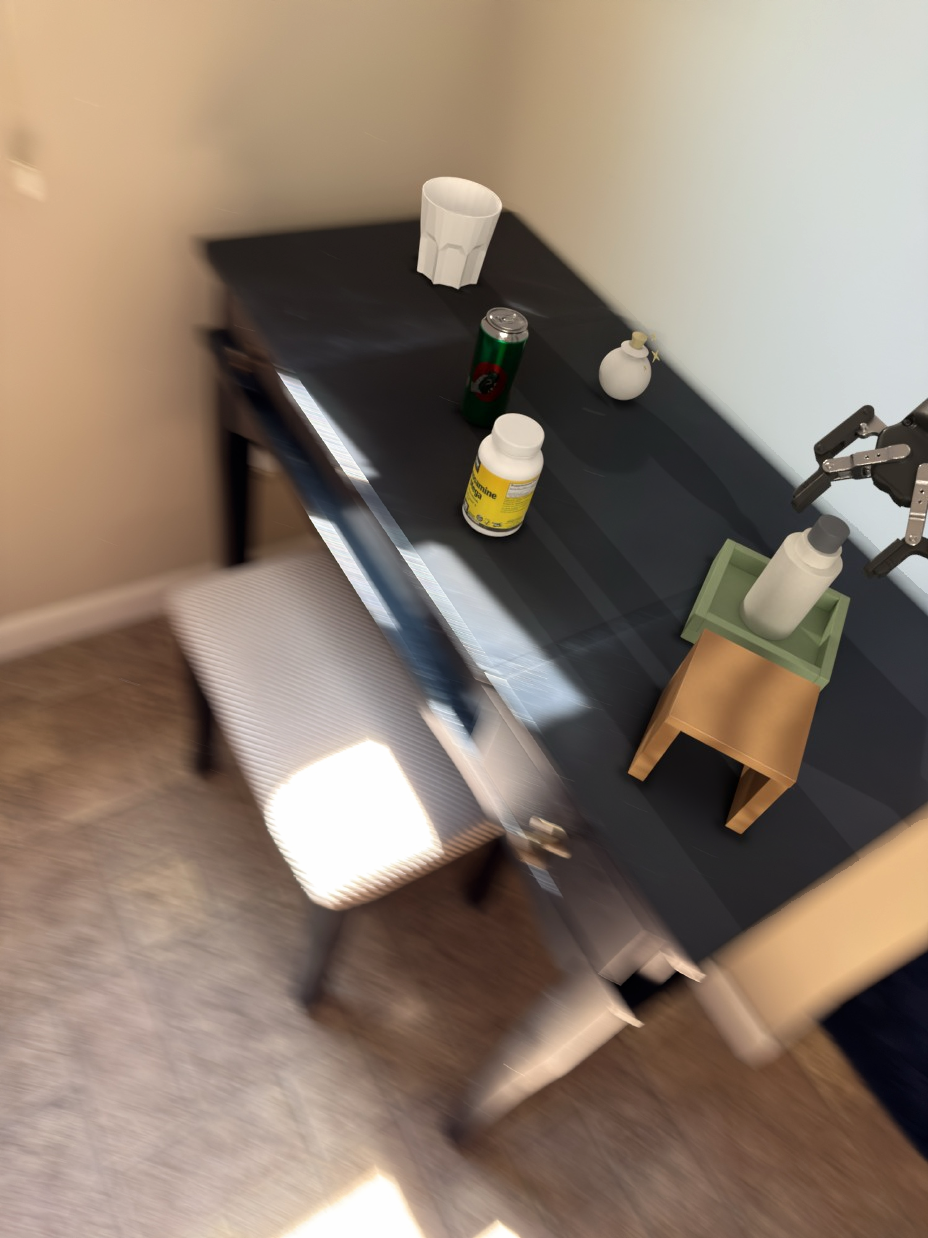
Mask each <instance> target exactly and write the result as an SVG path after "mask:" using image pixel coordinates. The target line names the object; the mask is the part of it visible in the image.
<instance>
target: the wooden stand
mask: <svg viewBox="0 0 928 1238" xmlns="http://www.w3.org/2000/svg"><path fill="white" fill-rule="evenodd" d="M820 688H821V687H820V686H818V685H816V684H814V683H812V682H810V681H808V680H806V679H804V678H802V677H800V676H798V675H797V674H795V673H793V672H791V671H789V670H787V669H785V668H783V667H781V666H779V665H777V664H775V663H773V662H771V661H769V660H767V659H765V658H763V657H761V656H759V655H757V654H755V653H753V652H751V651H749V650H747V649H745V648H743V647H741V646H739V645H737V644H735V643H733V642H731V641H729V640H727V639H725V638H724V637H722V636H720V635H718V634H716V633H714V632H712V631H710V630H708V629H706V628H705V629H704V630H703V632H702V633H701V635H700V637H699V638H698V640H697V641H696V643H695V644H693V646H692V647H691V649H690V650H689V651H688V653H687V654H686V656H685V658H684V659H683V660H682V662H681V663H680V665H679V666H678V668H677V669H676V671H675V673H674V674H673V675H672V677H671V679H670V680H669V681H668V683H667V685H665V687H664V689H663V690H662V692H661V695H660V696H659V699H658V701H657V704H656V706H655V708H654V711H653V713H652V714H651V715H652V716H651V717H650V720H649V722H648V725H647V727H646V729H645V731H644V734H643V736H642V738H641V741H640V743H639V745H638V748H637V750H636V752H635V755H634V757H633V760H632V762H631V764H630V766H629V769H628V770H627V774H628V775H630V776H632V777H634V778H636V779H638V780H640V781H641V782H644V781H645V780H646V778H647V777H648V776H649V774H650V773H651V771H652V770H653V769H654V767H655V766H656V765H657V763H658V762H659V761H660V760H661V758H662V757H663V755H664V754H665V753H666V751H667V750H668V748H670V746H671V745H672V744H673V742H674V741H675V740H676V738H677V736H678V735H679V734H680V733H681V732H682V733H684V734H686V735H688V736H690V737H692V738H694V739H695V740H697V741H700V742H701V743H703V744H705V745H707V746H709V747H711V748H713V749H715V750H717V751H719V752H720V753H722V754H724V755H726V756H728V757H730V758H731V759H734V760H735V761H737V762H739V763H741V764H743V768H742V770H741V775H740V778H739V781H738V783H737V787H736V790H735V793H734V797H733V800H732V803H731V806H730V809H729V812H728V816H727V818H726V822H725V824H724V825H725V827H726V828H727V829H728V828H729V829H730V830H732V831H734V832H735V833H737V834H740V835H743V833H744V832H745V831H746V830H747V829H748V828H749V827H750V826H752V825H753V824H754V822H755V821H756V820H758V818H759V817H760V816H762V814H764V812H765V811H766V810H768V809H769V807H771V806H772V805H773V804H774V802H776V801H777V800H778V799H779V798H780V797H781V796H782V795H783V794H784V793H785V792H786V791H787V790H788V789H790V788H791V787H792V786H793V785H794V784H796V783H797V780H798V776H799V773H800V769H801V764H802V761H803V757H804V753H805V749H806V745H807V742H808V739H809V735H810V730H811V726H812V722H813V719H814V716H815V711H816V707H817V704H818V699H819V696H820V693H821V691H820Z"/></svg>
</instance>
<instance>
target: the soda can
mask: <svg viewBox="0 0 928 1238" xmlns="http://www.w3.org/2000/svg"><path fill="white" fill-rule="evenodd" d="M528 324H529V322H528V320H527V319H526V317H525V316H524V315H523V314H522V313H520V312H518V311H517V310H514V309H511V308H508V307H493V308H491V309H489V310H488V311H487V312H486V315H485V316H484V317H483V318H482V319H481V321H480V324H479V327H478V332H477V336H476V340H475V344H474V347H473V351H472V356H471V360H470V364H469V367H468V372H467V376H466V379H465V380H466V381H465V384H464V387H463V392H462V396H461V401H460V404H459V407H460V408H459V409H460V413H462V415H463V417H464V418H465V419H466V420H467V421H468V422H469V423H470V424H473V425H475V426H479V427H483V428H490V427H494V424H495V421H496V420H497V419H498V418H499V417H500V416H502V415H505V414H507V410H508V406H509V403H510V400H511V396H512V393H513V389H514V386H515V383H516V380H517V377H518V373H519V369H520V366H521V363H522V359H523V356H524V353H525V350H526V346H527V343H528V339H529V335H530V332H529V329H528V327H529V325H528Z"/></svg>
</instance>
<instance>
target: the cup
mask: <svg viewBox="0 0 928 1238" xmlns="http://www.w3.org/2000/svg"><path fill="white" fill-rule="evenodd" d="M420 207H421V208H420V238H419V249H418V257H417V258H418V259H417V268H416V271H417V272H418V273H420V274H423V275H424V276H426V277H427V279H429V280H431V282H432V284H433V285H442V286H443V285H444V286H447V287H452V288H454V289H457V290H459V289H460V288H461V287H465V286H467V285H477V283H478V280H479V278H480V273H481V270H482V267H483V263H484V261H485V257H486V254H487V251H488V248H489V245H490V242H491V240H492V237H493V235H494V232H495V229H496V226H497V223H498V221H499V218H500V216H501V212H502V209H503V203H502V200H501V198H500V197H499V196H498V195H497V194H496V193H495V192H494V191H492V189H490V188H489V187H487V186H485V185H483V184H480V183H478V182H476V181H473V180H470V179H465V178H461V177H456V176H437V177H433V178H430V179H428V180H427V181H425V182H424V184H423V185H422V189H421V206H420Z"/></svg>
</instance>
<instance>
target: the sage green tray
mask: <svg viewBox="0 0 928 1238" xmlns="http://www.w3.org/2000/svg"><path fill="white" fill-rule="evenodd" d="M771 559H772V558H770V557H767V556H765V555H763V554H761V553H759V552H757V551H755V550H753V549H751V548H748V547H747V546H745V545H743V544H741V543H738V542H736V541H735V540H733V539H730V538H727V539H726V540H725V542H724V543H723V545H722V547H721V549H719V551H718V553H717V555H716V556H715V558H714V560H713V561H712V563H711V565H710V568H709V570H708V573H707V575H706V577H705V580H704V581H703V584H702V586H701V589H700V590H699V593H698V595H697V597H696V600H695V602H694V604H693V607H692V608H691V611H690V613H689V616H688V618H687V620H686V622H685V625H684V627H683V629H682V632H681V634H680V638H682V639H684V640H685V641H687V642H689V643H691V644H693V645H694V644H695V643H696V641H697V640H698V638H699V637H700V635H701V633H702V632H703V630H704V629H705V628H706V629H708V630H710V631H712V632H714V633H716V634H718V635H720V636H722V637H724V638H725V639H727V640H729V641H731V642H733V643H735V644H737V645H739V646H741V647H743V648H745V649H747V650H749V651H751V652H753V653H755V654H757V655H759V656H761V657H763V658H765V659H767V660H769V661H771V662H773V663H775V664H777V665H779V666H781V667H783V668H785V669H787V670H789V671H791V672H793V673H795V674H797V675H798V676H800V677H802V678H804V679H806V680H808V681H810V682H812V683H814V684H816V685H818V686H820V687H821V688H820V692H821V691H823V690H824V688H825V687H826V686H827V685H828V684H829V683H830V680H831V676H832V673H833V669H834V665H835V661H836V657H837V653H838V649H839V645H840V641H841V637H842V634H843V629H844V626H845V623H846V618H847V614H848V611H849V606H850V603H851V597H849V596H847V595H845V594H843V593H841V592H839V591H837V590H835V589H833V588H831V587H830V586H829V587H828V588H827V590H826V591H825V592H824V593H823V595H822V596H821V597H820V598H819V600H818V601H817V602H816V603H815V605H814V606H813V607H812V608H811V610H810V611H809V612H808V613H807V615H806V616H805V617H804V618H803V620H802V621H801V622H800V623H799V625H798V626H797V627H796V628H795V630H794V631H793V632H792V633H791V635H790V636H789V637H787V638H785V639H783V640H769V639H766V638H763V637H761V636H759V635H757V634H755V633H754V632H753V631H751V630H750V629H749V628H748V627H747V626H746V625H745V623H744V622H743V620H742V619H741V616H740V612H739V607H740V604H741V602H742V601H743V599H744V598H745V597H746V595H747V594H748V592H749V591H750V589H751V588H752V586H753V585H754V584H755V582H756V581H757V579H758V578H759V576H760V575H761V574H762V572H763V571H764V569H765V568H766V566H767V565H768V563H769V562H770V561H771Z"/></svg>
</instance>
